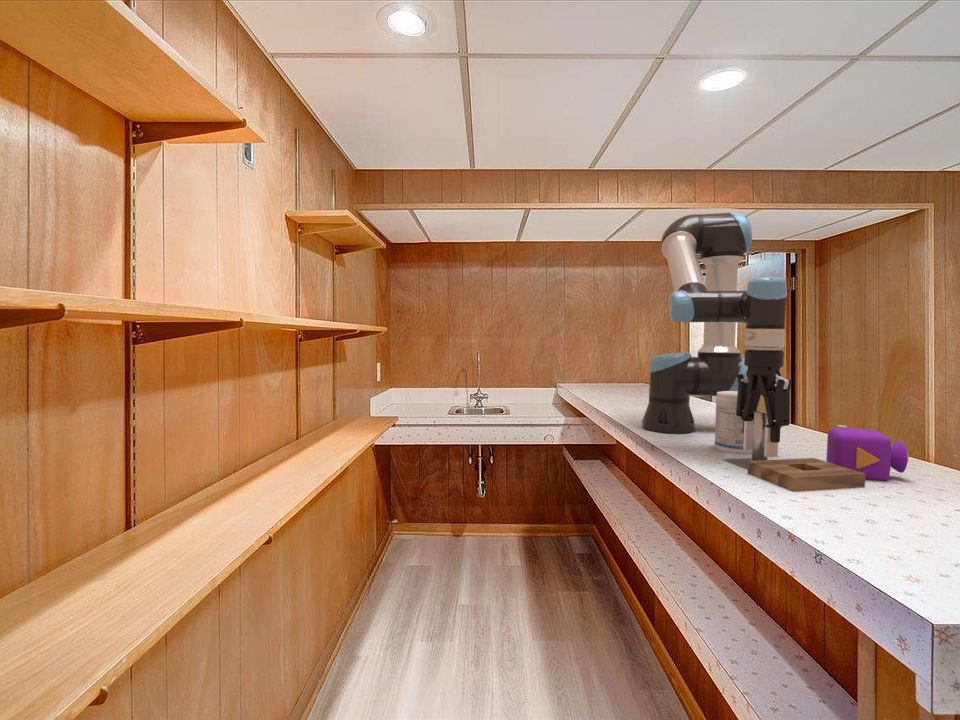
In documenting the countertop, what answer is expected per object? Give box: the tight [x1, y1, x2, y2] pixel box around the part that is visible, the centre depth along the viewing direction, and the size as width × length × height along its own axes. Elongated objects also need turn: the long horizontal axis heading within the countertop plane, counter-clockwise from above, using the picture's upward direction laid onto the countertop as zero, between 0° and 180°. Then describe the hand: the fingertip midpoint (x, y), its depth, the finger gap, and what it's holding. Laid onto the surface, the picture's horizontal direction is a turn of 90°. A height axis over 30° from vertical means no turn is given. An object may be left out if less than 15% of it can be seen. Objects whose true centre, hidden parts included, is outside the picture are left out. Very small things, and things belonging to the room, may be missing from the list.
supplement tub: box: [714, 391, 759, 455], centre depth 127 cm, size 10×10×15 cm
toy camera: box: [826, 424, 910, 482], centre depth 106 cm, size 11×14×10 cm
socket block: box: [747, 457, 866, 493], centre depth 102 cm, size 12×16×3 cm
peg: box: [751, 410, 768, 461], centre depth 112 cm, size 3×3×12 cm
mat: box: [721, 457, 752, 471], centre depth 112 cm, size 12×10×1 cm
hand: (759, 452), depth 112 cm, fingers open, 6 cm apart
